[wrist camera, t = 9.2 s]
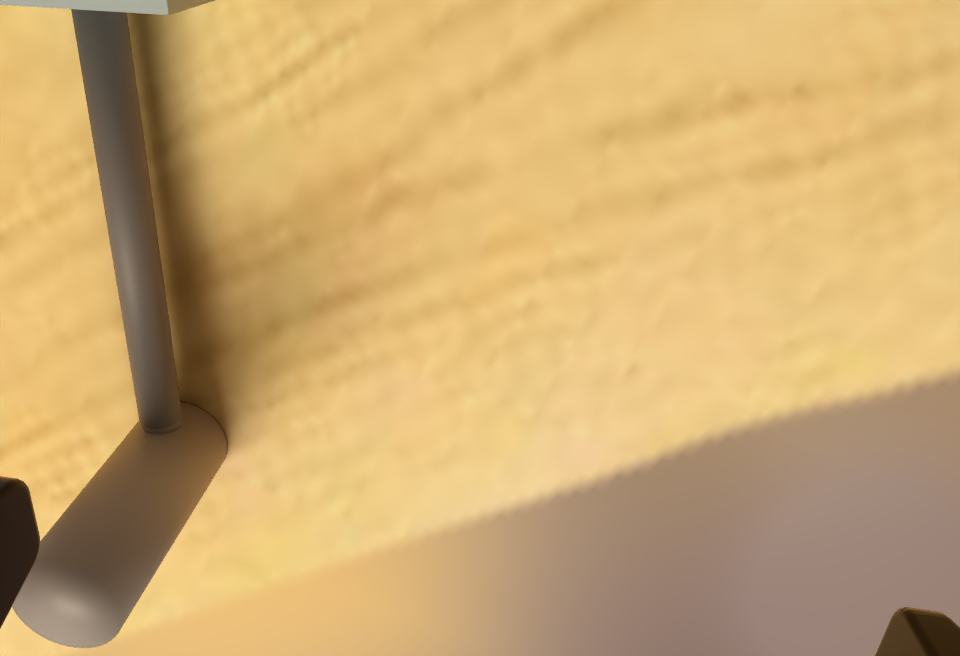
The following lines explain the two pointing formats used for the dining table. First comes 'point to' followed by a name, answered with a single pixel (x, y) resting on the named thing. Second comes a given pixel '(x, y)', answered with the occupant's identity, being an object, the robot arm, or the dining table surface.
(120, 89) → the grey block with handle
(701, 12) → the dining table surface
